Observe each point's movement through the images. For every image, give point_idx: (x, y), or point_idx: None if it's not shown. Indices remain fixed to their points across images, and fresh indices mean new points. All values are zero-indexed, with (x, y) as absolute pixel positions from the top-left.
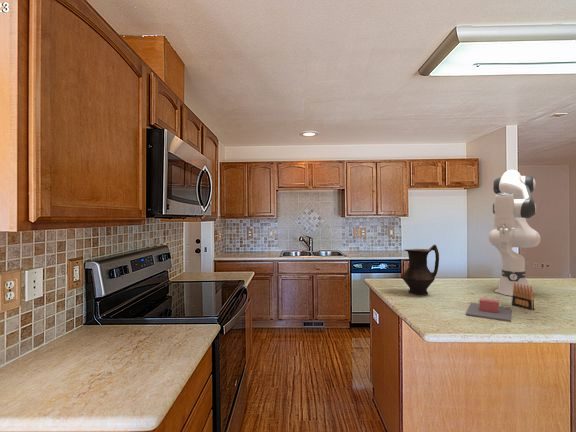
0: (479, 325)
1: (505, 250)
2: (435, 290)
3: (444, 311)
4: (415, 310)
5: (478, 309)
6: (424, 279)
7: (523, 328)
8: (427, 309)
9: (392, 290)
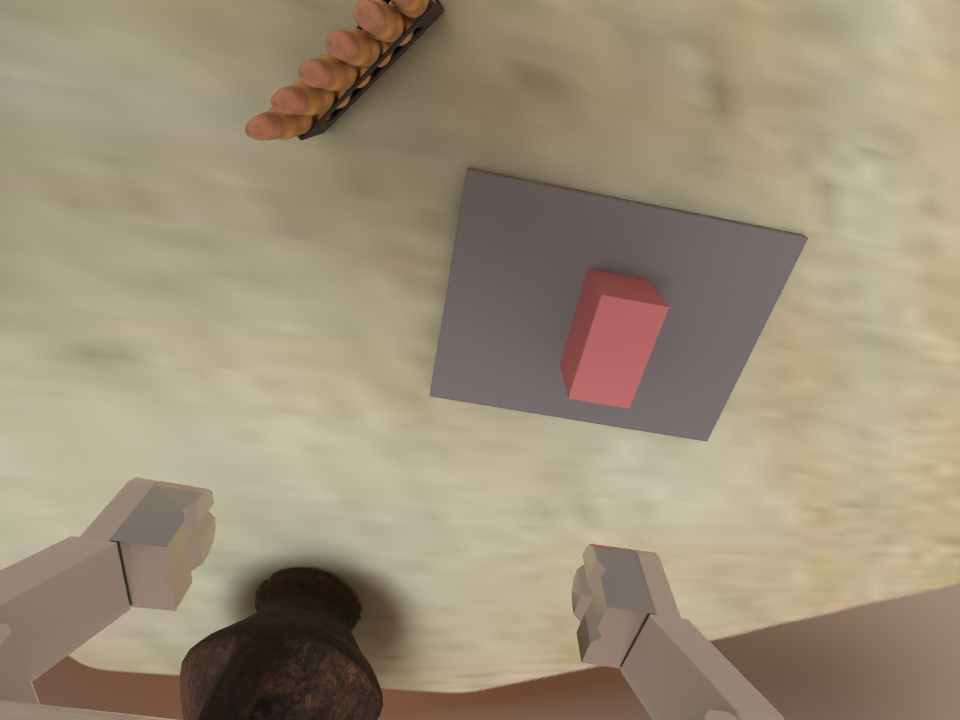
0: (883, 395)
1: (664, 585)
2: None
3: (649, 511)
4: None
5: None
6: (365, 678)
7: (936, 189)
8: None
9: None
